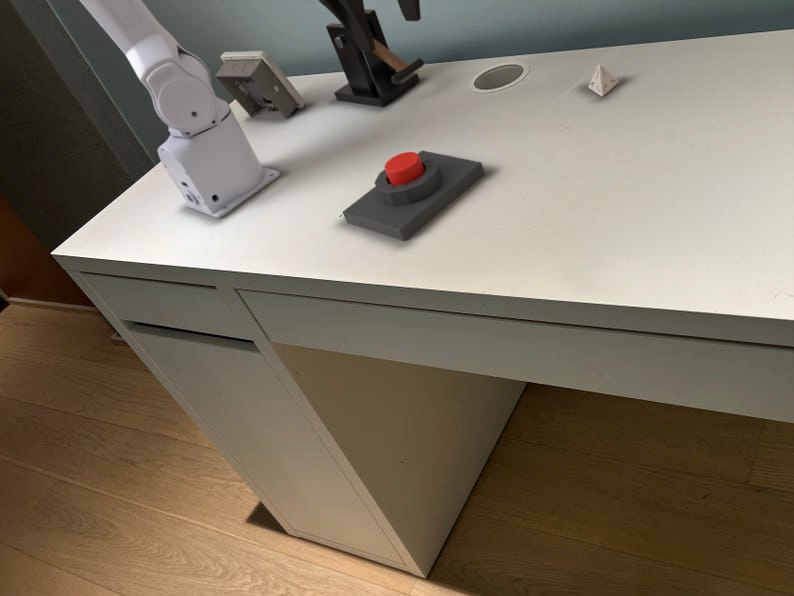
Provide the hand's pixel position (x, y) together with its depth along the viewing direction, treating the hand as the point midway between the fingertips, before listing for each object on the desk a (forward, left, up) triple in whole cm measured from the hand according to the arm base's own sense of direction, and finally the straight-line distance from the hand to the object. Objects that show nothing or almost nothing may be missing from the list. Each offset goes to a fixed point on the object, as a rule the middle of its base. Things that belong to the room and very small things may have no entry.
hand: (391, 34), depth 83 cm
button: (-15, -15, -7) cm, 22 cm away
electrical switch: (-6, +24, -10) cm, 26 cm away
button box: (-15, -15, -9) cm, 23 cm away
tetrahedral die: (+9, -21, -10) cm, 25 cm away
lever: (+3, +8, -4) cm, 10 cm away
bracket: (+3, +11, -9) cm, 15 cm away
